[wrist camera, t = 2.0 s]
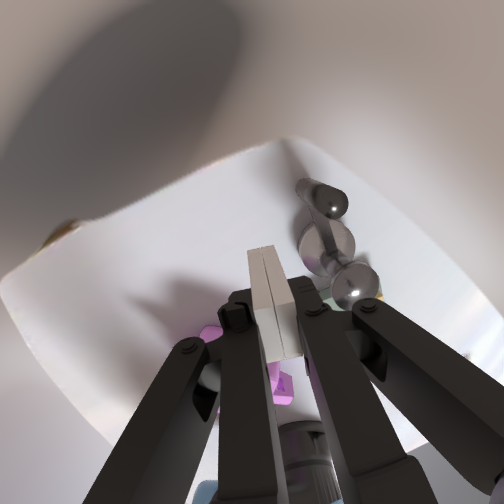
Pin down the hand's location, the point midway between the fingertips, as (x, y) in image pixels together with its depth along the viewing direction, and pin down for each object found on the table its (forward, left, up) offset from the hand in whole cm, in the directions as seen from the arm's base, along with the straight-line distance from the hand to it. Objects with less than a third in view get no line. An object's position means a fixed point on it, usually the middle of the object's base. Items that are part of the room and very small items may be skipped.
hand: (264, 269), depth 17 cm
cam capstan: (-5, -7, -18) cm, 20 cm away
